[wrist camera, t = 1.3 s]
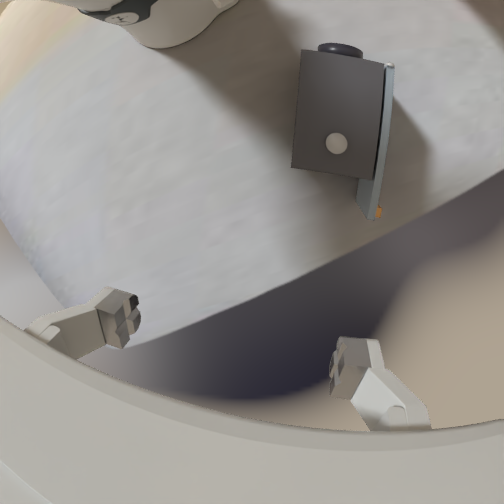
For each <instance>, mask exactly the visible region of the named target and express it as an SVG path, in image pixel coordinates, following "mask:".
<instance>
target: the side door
mask: <svg viewBox="0 0 504 504" xmlns="http://www.w3.org/2000/svg"><path fill="white" fill-rule="evenodd" d="M394 69H395V66H394V64H393V63H391V62H388V63H387V64H386V65H384V79H383V94H382V106H381V116H380V126H379V134H378V142H377V150H376V157H375V163H374V170H373V176H372V181H371V180H366V179H360V178H359V183H358V189H357V195H356V202H357V204H358V206H359V207H360V209H361V210H362V212H363V214H364V215H365V217H366V218H367V219H368V220H373V221H374V220H375V217H379V218H380V216H381V211H382V208H381V207H380V206H379V205H378V201H379V195H380V190H381V185H382V179H383V173H384V167H385V160H386V154H387V146H388V139H389V131H390V122H391V112H392V101H393V88H394Z"/></svg>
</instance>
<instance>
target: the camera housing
mask: <svg viewBox="0 0 504 504" xmlns="http://www.w3.org/2000/svg"><path fill="white" fill-rule="evenodd" d="M383 79H384V64H382V63H378V62H374V61H370V60H365V59H363V52H362V51H361V50H359V49H357V48H355V47H352V46H349V45H345V44H338V43H325V44H321V45H319V46H318V51H311V50H302V49H301V62H300V76H299V88H298V100H297V111H296V122H295V133H294V143H293V153H292V162H291V168H297V169H305V170H312V171H319V172H325V173H331V174H338V175H344V176H349V177H355V178H360V179H366V180H371V181H372V176H373V170H374V163H375V157H376V150H377V142H378V134H379V126H380V116H381V106H382V94H383Z"/></svg>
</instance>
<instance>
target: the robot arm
mask: <svg viewBox="0 0 504 504" xmlns="http://www.w3.org/2000/svg"><path fill="white" fill-rule="evenodd" d="M7 1H14V0H0V3H2V2H7ZM43 1H48V2H54V3H58V4H63V5H67V6H71V7H75V8H77V9H78V10H79V11H80V12H81V13H83V14H85V15H88V16H90V17H93V18H96V19H99V20H102V21H105V22H108V23H112V24H116V25H119V26H121V27H122V28H124V29H125V30H126V31H128V32H129V33H130V34H131V35H132V36H133V37H134V38H135V40H136V41H138V42H139V43H140V44H142V45H144V46H147V47H151V48H168V47H173V46H176V45H179V44H182V43H184V42H186V41H188V40H190V39H192V38H193V37H195V36H196V35H198V34H199V33H200V32H202V31H203V30H204V29H205V28H206V27H207V26H208V25H209V24H210V23H211V22H212V21H213V20H214V18H215V17H216V16H217V15H218V14H220V13H221V12H223V11H225V10H227V9H228V8H230V7H232V6H234V5H235V4H236V3H237V2H238V1H239V0H43ZM138 304H139V301H138V297H137V296H136V295H134V294H131V293H128V292H124V291H121V290H118V289H114V288H111V287H104V288H103V289H102V290H101V291H100V292H99V293H97V294H96V295H95V296H94V297H93V298H92V299H91V300H90V301H88V302H87V303H86V304H85V305H84V304H80V305H77V306H74V307H70V308H67V309H64V310H60V311H57V312H54V313H50V314H47V315H44V316H41V317H38V318H37V319H36V320H35V321H34V322H32V323H31V324H30V325H29V326H28V327H27V328H26V329H25V330H24V331H23V330H22V329H20V328H18V327H17V326H15V325H14V324H12V323H10V322H9V321H8V320H6V319H5V318H3V317H2V316H0V504H504V419H498V420H493V421H488V422H483V423H477V424H471V425H466V426H458V427H450V428H441V429H432V428H431V424H430V419H429V416H428V411H427V407H426V405H425V404H424V403H423V402H422V401H421V400H420V399H419V398H418V397H417V396H416V395H415V394H414V393H412V392H411V390H410V389H408V388H407V387H406V386H405V385H404V384H403V383H402V382H401V381H400V380H399V379H398V378H397V377H396V376H395V375H394V374H393V373H392V372H391V371H390V370H389V369H385V365H384V361H383V357H382V353H381V349H380V345H379V341H378V340H376V339H361V338H353V337H344V336H340V338H339V339H338V342H337V350H336V351H335V352H334V353H333V355H332V358H331V363H330V369H329V375H330V377H331V378H332V379H331V382H330V397H332V398H341V399H350V400H351V402H352V403H353V405H354V407H355V408H356V410H357V411H358V413H359V414H360V416H361V417H362V419H363V420H364V421H365V423H366V425H367V426H368V428H369V429H370V431H346V430H330V429H320V428H310V427H301V426H293V425H286V424H280V423H273V422H267V421H262V420H256V419H251V418H246V417H241V416H237V415H232V414H228V413H223V412H219V411H215V410H211V409H207V408H204V407H200V406H196V405H193V404H189V403H186V402H183V401H179V400H176V399H173V398H169V397H166V396H164V395H161V394H158V393H155V392H152V391H149V390H146V389H143V388H141V387H138V386H135V385H133V384H130V383H127V382H125V381H122V380H120V379H117V378H115V377H113V376H110V375H108V374H106V373H103V372H101V371H99V370H97V369H94V368H92V367H90V366H88V365H86V364H84V363H82V362H79V361H77V359H79V358H80V357H83V356H84V355H86V354H88V353H90V352H92V351H94V350H96V349H98V348H100V347H102V346H104V345H106V344H108V345H111V346H114V347H117V348H120V349H123V348H124V346H125V345H126V344H127V342H128V341H129V340H130V337H129V335H131V334H134V333H135V332H136V331H137V330H138V328H139V325H140V322H141V315H140V311H139V310H138V309H137V306H138Z"/></svg>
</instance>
